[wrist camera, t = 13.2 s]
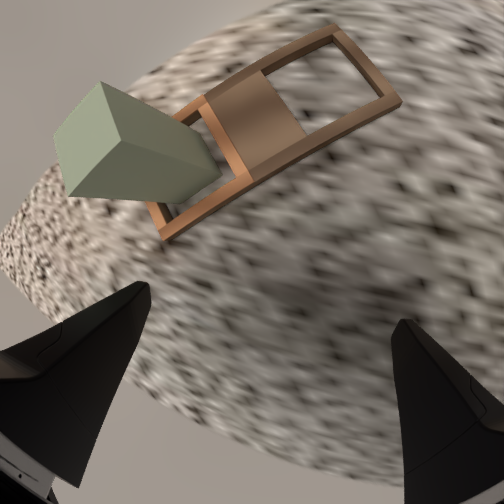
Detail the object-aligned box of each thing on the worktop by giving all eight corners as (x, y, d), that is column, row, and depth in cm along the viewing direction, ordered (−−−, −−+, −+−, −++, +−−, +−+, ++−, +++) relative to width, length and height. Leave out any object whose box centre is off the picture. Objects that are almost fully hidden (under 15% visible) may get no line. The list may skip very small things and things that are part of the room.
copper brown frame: (399, 107, 18) (403, 100, 16) (171, 239, 24) (162, 240, 23) (335, 30, 18) (334, 21, 17) (135, 158, 25) (125, 155, 24)
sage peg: (222, 175, 22) (121, 140, 11) (180, 204, 24) (67, 196, 12) (199, 132, 23) (100, 80, 11) (160, 162, 24) (53, 135, 13)
